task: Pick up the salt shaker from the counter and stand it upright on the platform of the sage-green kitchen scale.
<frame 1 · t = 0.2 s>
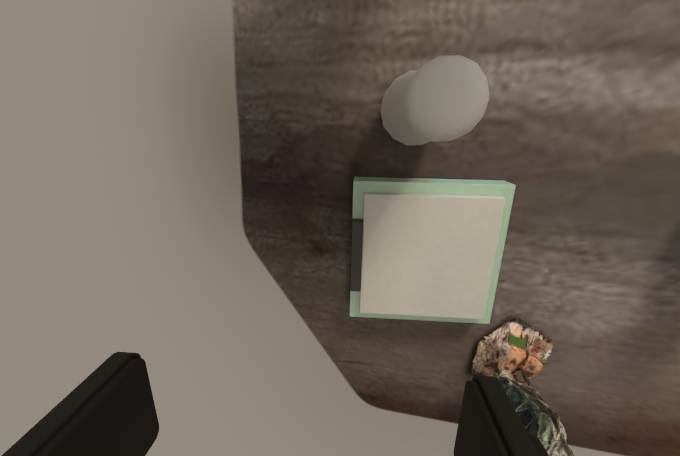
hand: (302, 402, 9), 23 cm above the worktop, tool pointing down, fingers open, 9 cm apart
scale: (421, 247, 32), on the worktop
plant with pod: (499, 357, 36), on the worktop
salt shaker: (411, 110, 28), on the worktop
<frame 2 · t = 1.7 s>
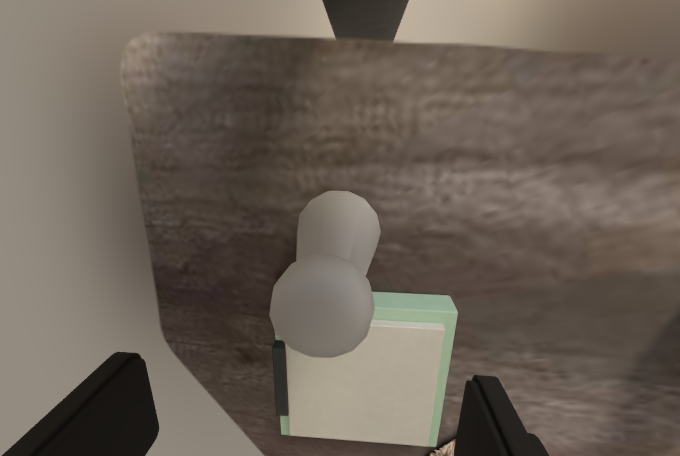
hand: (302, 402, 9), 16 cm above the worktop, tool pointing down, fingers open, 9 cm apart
scale: (360, 359, 28), on the worktop
salt shaker: (341, 220, 24), on the worktop
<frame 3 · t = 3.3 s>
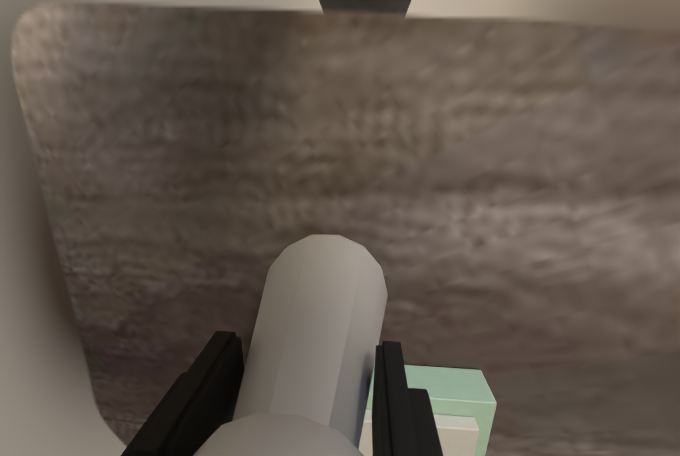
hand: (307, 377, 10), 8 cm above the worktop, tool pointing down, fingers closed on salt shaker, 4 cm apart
scale: (358, 446, 21), on the worktop
salt shaker: (331, 269, 18), on the worktop, touching gripper
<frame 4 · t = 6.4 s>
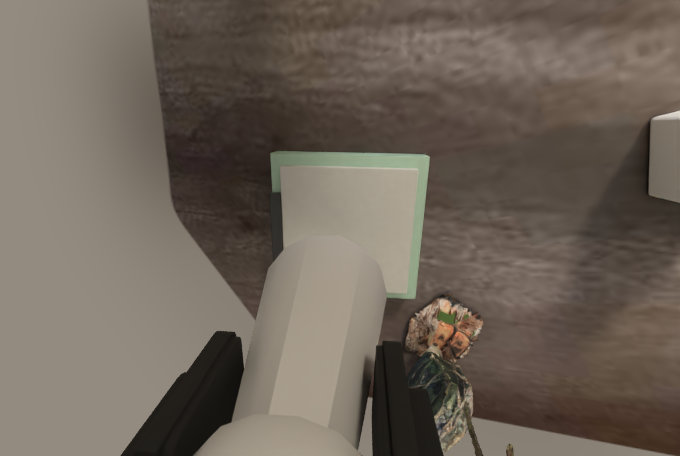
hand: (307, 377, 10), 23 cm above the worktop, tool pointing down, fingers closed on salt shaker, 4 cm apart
scale: (348, 223, 32), on the worktop
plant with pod: (433, 335, 36), on the worktop
salt shaker: (330, 269, 18), point 15 cm above the worktop, touching gripper
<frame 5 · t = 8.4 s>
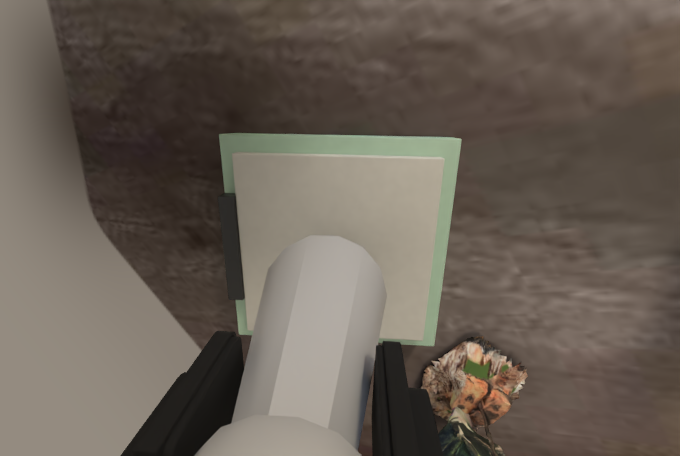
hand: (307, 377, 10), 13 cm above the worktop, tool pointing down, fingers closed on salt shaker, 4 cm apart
scale: (338, 236, 23), on the worktop
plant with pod: (456, 387, 26), on the worktop
salt shaker: (330, 269, 18), point 5 cm above the worktop, touching gripper
when the fingers open (11 cm above the worktop, at t = 9.4 s): salt shaker stays where it is, resting on scale.
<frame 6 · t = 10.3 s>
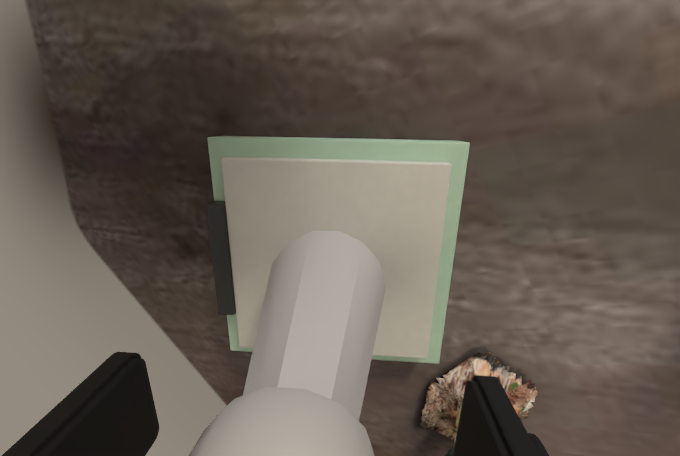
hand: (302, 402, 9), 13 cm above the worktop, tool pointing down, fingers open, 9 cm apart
scale: (336, 246, 21), on the worktop
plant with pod: (461, 405, 25), on the worktop
salt shaker: (331, 264, 18), point 3 cm above the worktop, touching scale
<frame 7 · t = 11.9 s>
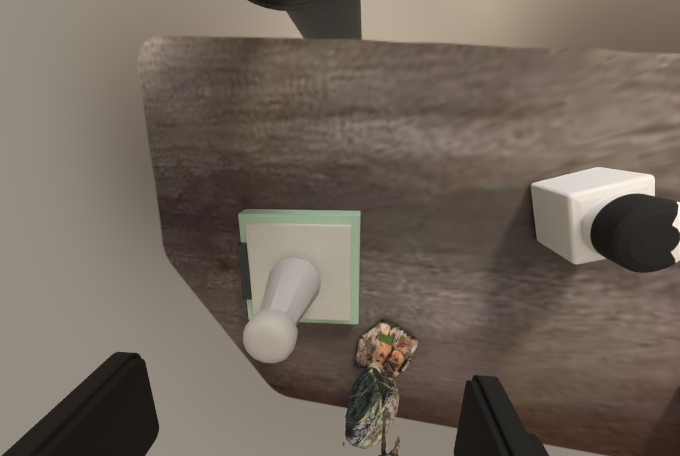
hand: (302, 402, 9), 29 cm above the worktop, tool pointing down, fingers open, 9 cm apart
medicine bottle: (564, 204, 36), on the worktop
scale: (304, 263, 40), on the worktop
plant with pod: (379, 352, 43), on the worktop
salt shaker: (299, 273, 37), point 3 cm above the worktop, touching scale
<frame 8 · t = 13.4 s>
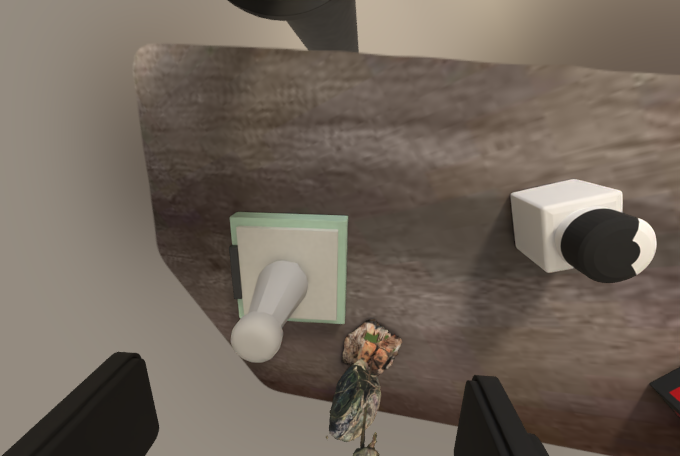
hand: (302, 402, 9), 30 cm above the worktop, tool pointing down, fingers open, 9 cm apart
medicine bottle: (542, 214, 37), on the worktop
scale: (293, 264, 41), on the worktop
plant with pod: (365, 350, 45), on the worktop
salt shaker: (288, 274, 39), point 3 cm above the worktop, touching scale
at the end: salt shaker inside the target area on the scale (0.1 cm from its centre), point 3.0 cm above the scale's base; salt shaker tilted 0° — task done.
